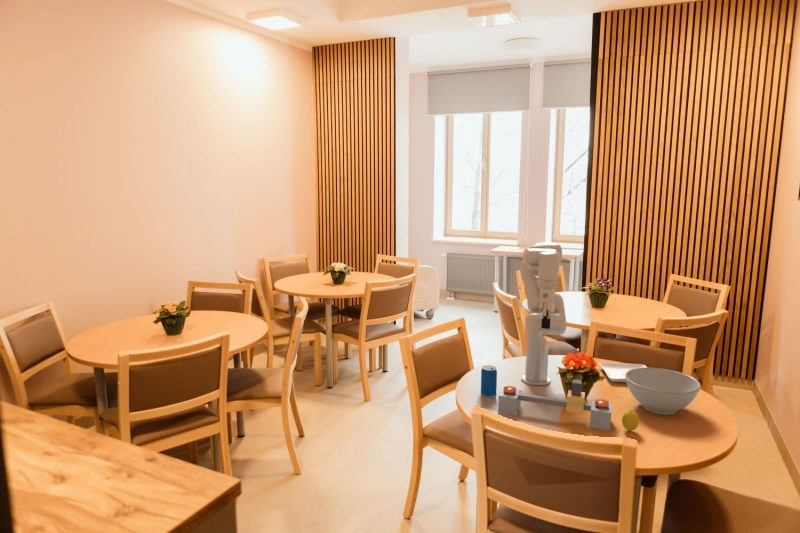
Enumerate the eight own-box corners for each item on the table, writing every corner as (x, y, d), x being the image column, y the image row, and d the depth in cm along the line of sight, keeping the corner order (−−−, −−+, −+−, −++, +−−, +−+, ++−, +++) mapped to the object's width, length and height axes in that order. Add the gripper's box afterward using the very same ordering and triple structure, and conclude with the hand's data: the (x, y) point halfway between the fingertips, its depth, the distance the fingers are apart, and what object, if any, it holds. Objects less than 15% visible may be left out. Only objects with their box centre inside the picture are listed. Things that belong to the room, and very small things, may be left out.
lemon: (618, 428, 199) (620, 407, 198) (633, 427, 200) (634, 406, 198) (625, 435, 194) (627, 414, 192) (640, 434, 194) (642, 413, 193)
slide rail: (502, 403, 221) (503, 387, 219) (610, 420, 205) (612, 403, 204) (498, 412, 212) (498, 395, 211) (610, 431, 197) (611, 412, 196)
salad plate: (597, 368, 262) (598, 361, 261) (644, 370, 259) (644, 363, 258) (609, 385, 241) (609, 377, 240) (659, 387, 238) (660, 379, 238)
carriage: (567, 404, 209) (569, 377, 207) (584, 407, 207) (585, 379, 205) (566, 411, 203) (567, 383, 202) (583, 413, 201) (584, 385, 199)
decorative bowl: (690, 399, 225) (693, 371, 223) (704, 427, 200) (707, 396, 198) (620, 391, 233) (622, 364, 231) (626, 417, 208) (628, 387, 206)
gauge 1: (504, 402, 218) (505, 385, 217) (516, 404, 216) (517, 387, 215) (502, 407, 214) (502, 389, 212) (514, 409, 212) (514, 391, 211)
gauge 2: (594, 416, 205) (595, 398, 204) (607, 419, 203) (609, 400, 202) (593, 422, 201) (594, 403, 200) (607, 424, 199) (608, 405, 198)
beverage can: (496, 398, 226) (496, 371, 224) (480, 397, 227) (480, 369, 225) (496, 392, 232) (497, 365, 230) (481, 391, 233) (481, 364, 231)
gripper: (555, 287, 206) (552, 334, 209) (559, 280, 220) (557, 324, 223) (534, 285, 209) (533, 331, 212) (540, 279, 223) (538, 322, 226)
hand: (545, 327), depth 218 cm, fingers closed
